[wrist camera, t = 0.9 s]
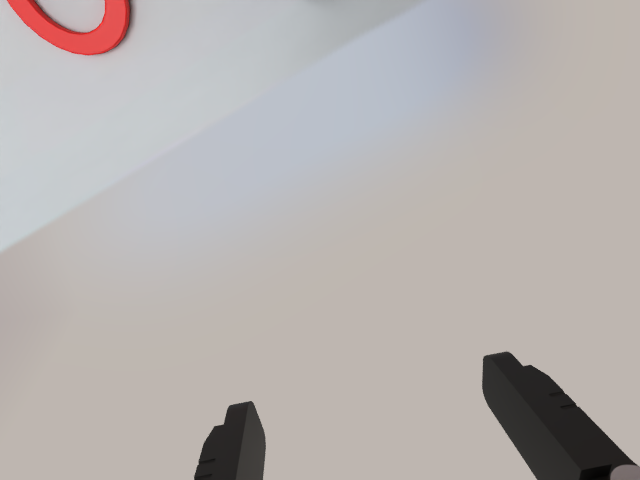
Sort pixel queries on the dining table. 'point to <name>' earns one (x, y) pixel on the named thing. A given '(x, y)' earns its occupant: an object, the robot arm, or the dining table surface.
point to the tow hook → (77, 42)
